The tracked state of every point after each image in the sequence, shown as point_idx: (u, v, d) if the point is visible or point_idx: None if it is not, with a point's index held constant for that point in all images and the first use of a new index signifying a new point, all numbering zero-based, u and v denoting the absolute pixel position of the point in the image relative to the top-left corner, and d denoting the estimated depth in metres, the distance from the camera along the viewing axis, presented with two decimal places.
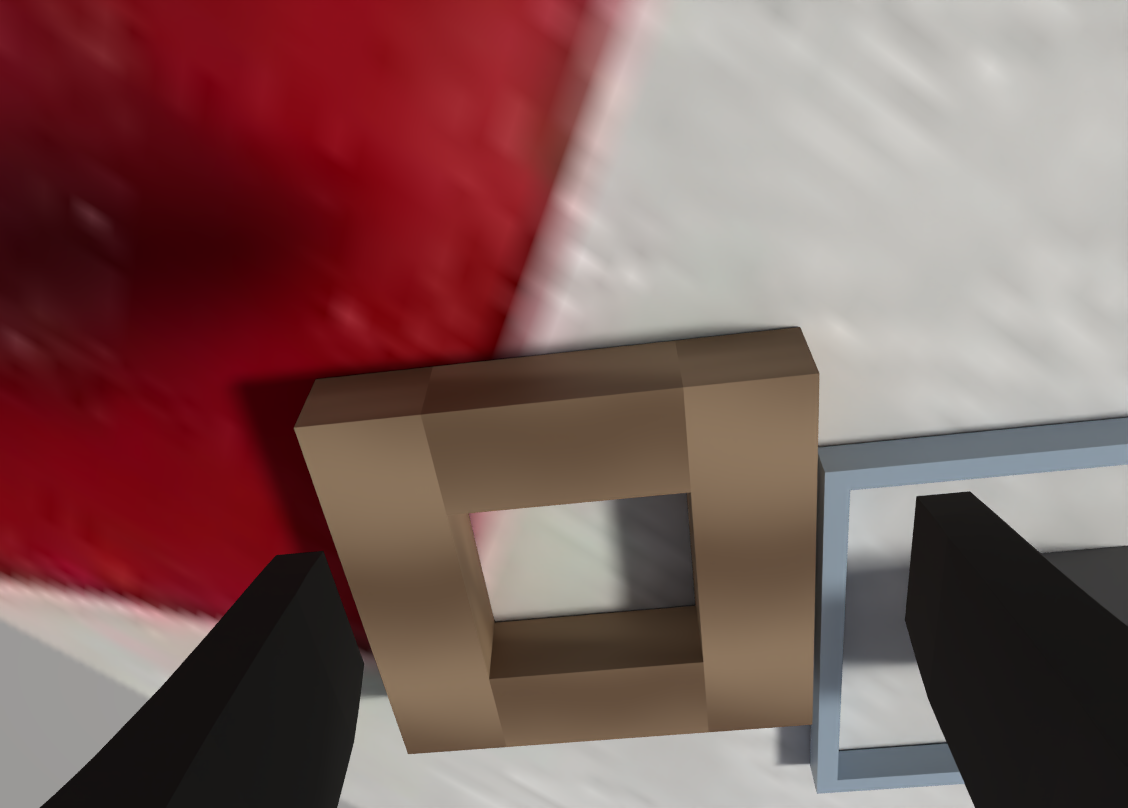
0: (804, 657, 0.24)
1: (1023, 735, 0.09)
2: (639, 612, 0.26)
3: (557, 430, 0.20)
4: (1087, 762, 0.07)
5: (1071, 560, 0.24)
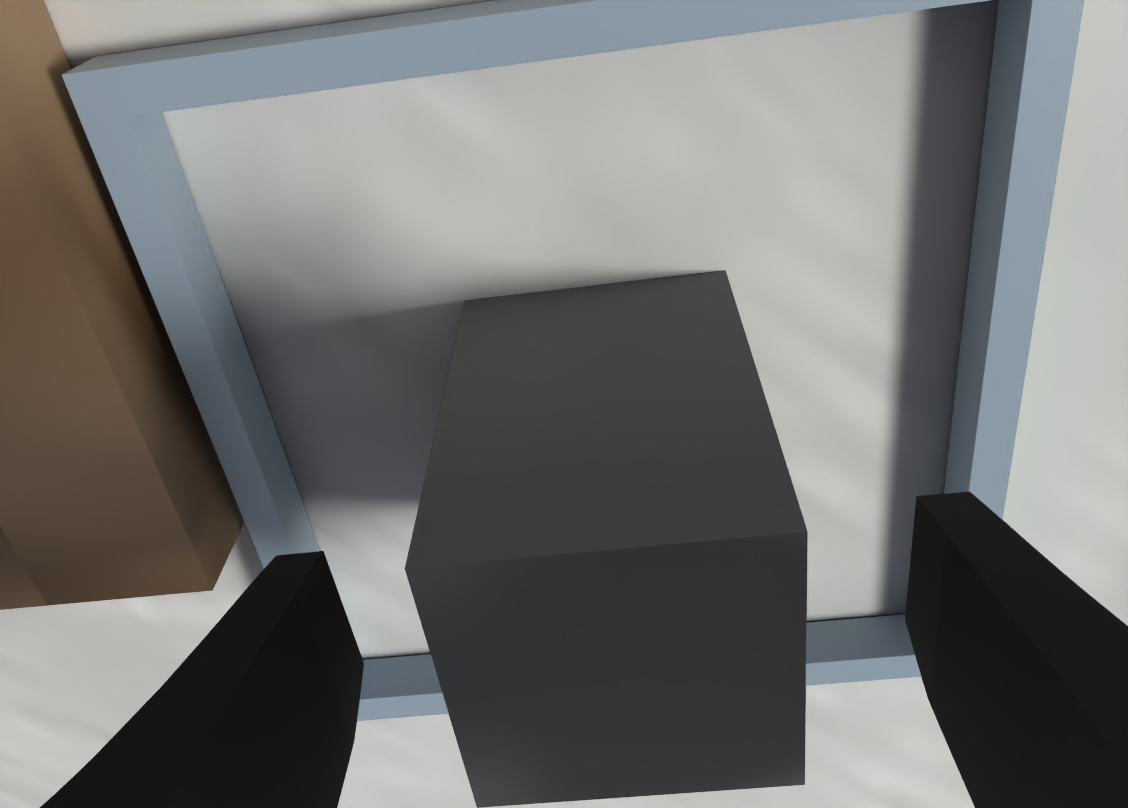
0: (136, 457, 0.14)
1: (1023, 735, 0.09)
2: None
3: None
4: (1087, 762, 0.07)
5: (615, 293, 0.14)
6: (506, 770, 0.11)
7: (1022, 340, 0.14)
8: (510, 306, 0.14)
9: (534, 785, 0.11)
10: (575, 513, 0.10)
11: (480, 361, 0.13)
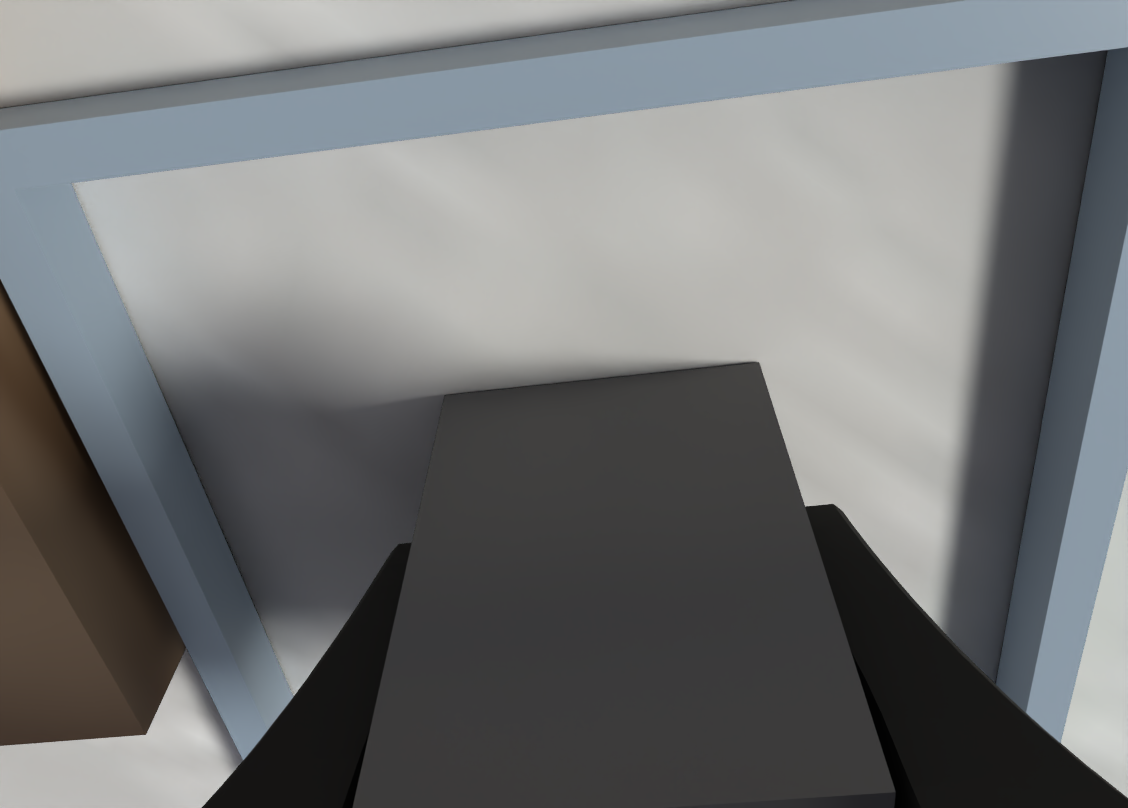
0: (45, 592, 0.11)
1: None
2: None
3: None
4: None
5: (626, 391, 0.11)
6: None
7: (1121, 452, 0.11)
8: (498, 406, 0.12)
9: None
10: (576, 741, 0.07)
11: (461, 486, 0.10)
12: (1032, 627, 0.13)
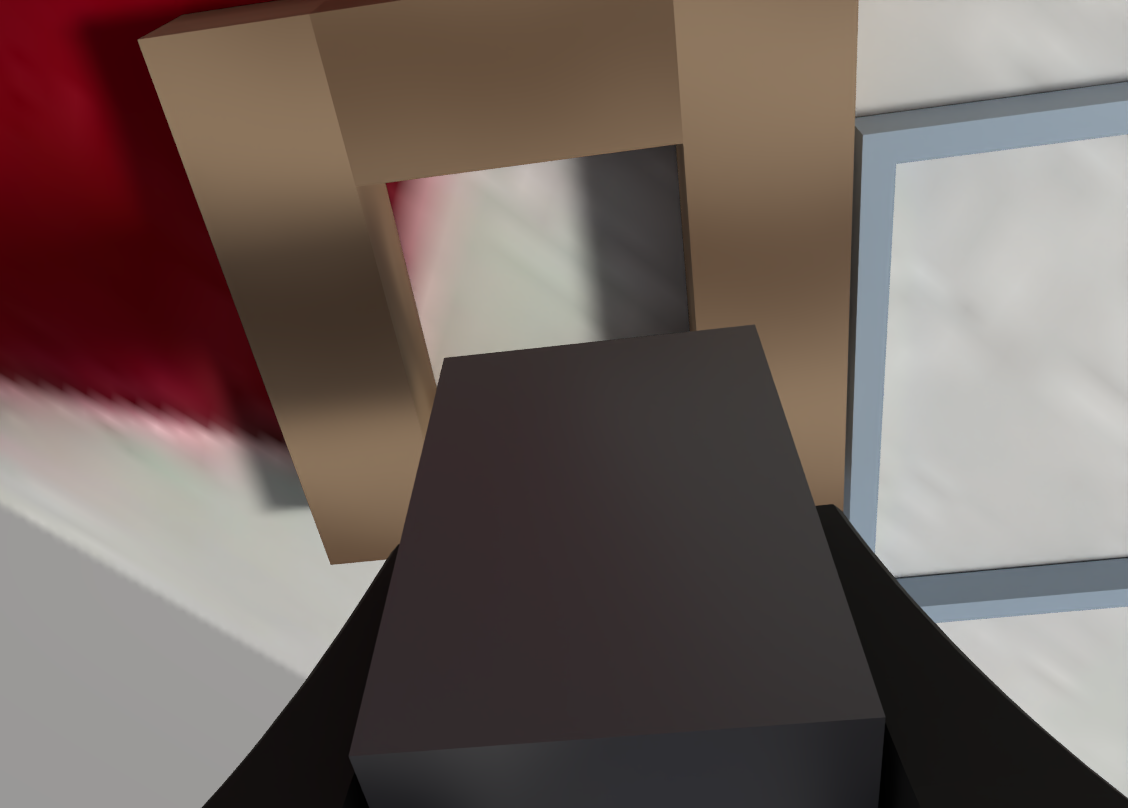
0: (834, 411, 0.18)
1: None
2: None
3: (498, 39, 0.15)
4: (890, 776, 0.08)
5: (623, 352, 0.12)
6: None
7: None
8: (497, 367, 0.12)
9: None
10: (572, 674, 0.07)
11: (459, 442, 0.10)
12: None
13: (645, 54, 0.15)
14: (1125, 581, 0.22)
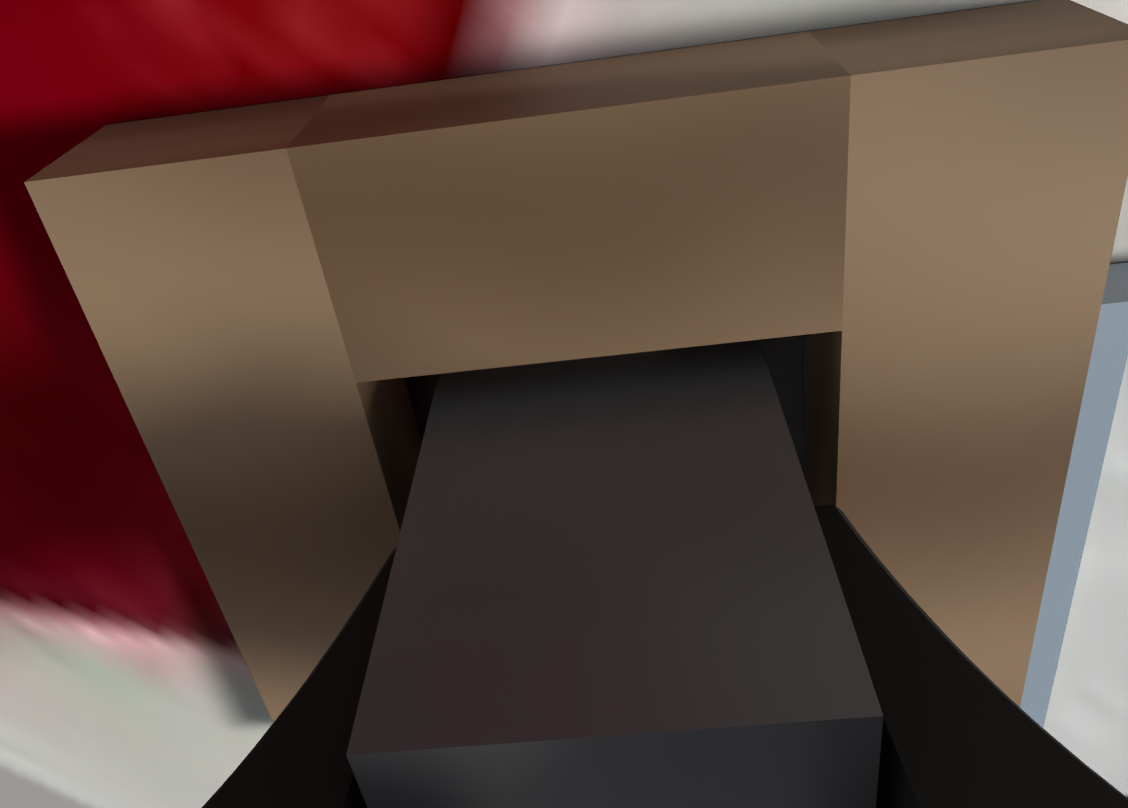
0: (1012, 661, 0.13)
1: None
2: None
3: (575, 185, 0.10)
4: (890, 775, 0.08)
5: None
6: None
7: None
8: None
9: None
10: (571, 674, 0.07)
11: (458, 441, 0.10)
12: None
13: (798, 209, 0.10)
14: None
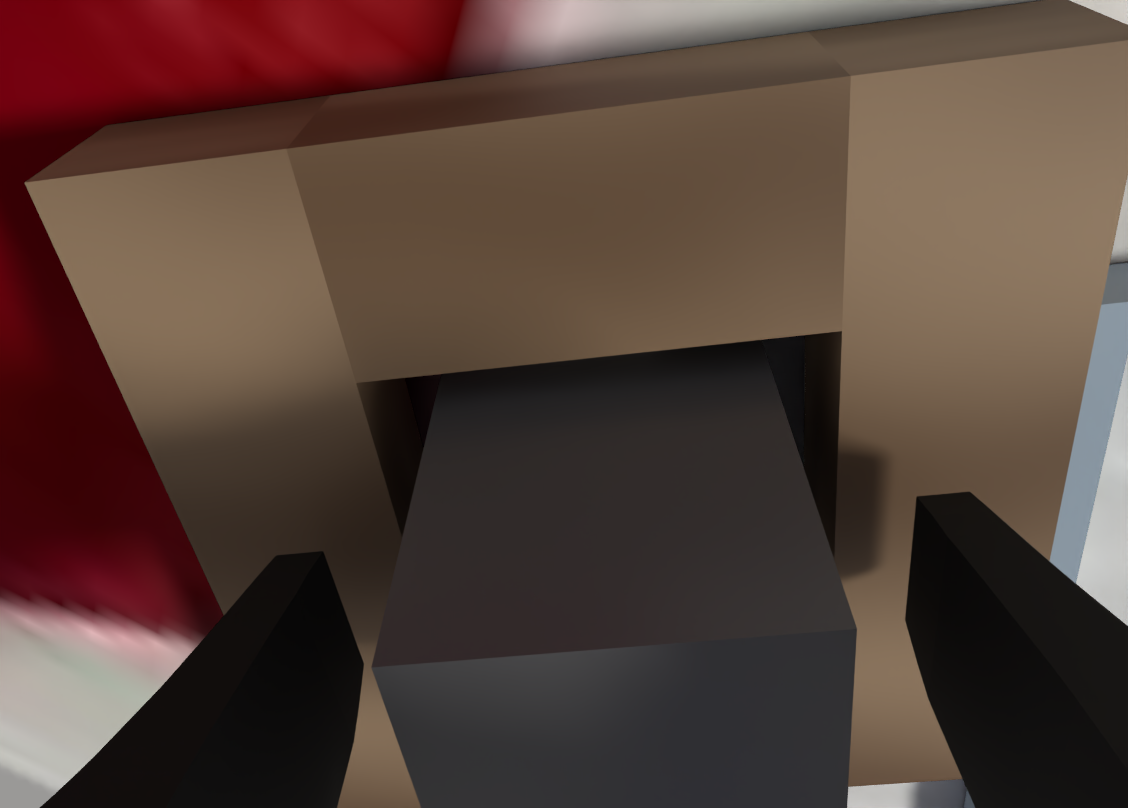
0: None
1: (1023, 735, 0.09)
2: None
3: (575, 186, 0.10)
4: (1086, 763, 0.07)
5: None
6: None
7: None
8: None
9: None
10: (575, 597, 0.08)
11: (469, 399, 0.11)
12: None
13: (798, 210, 0.10)
14: None
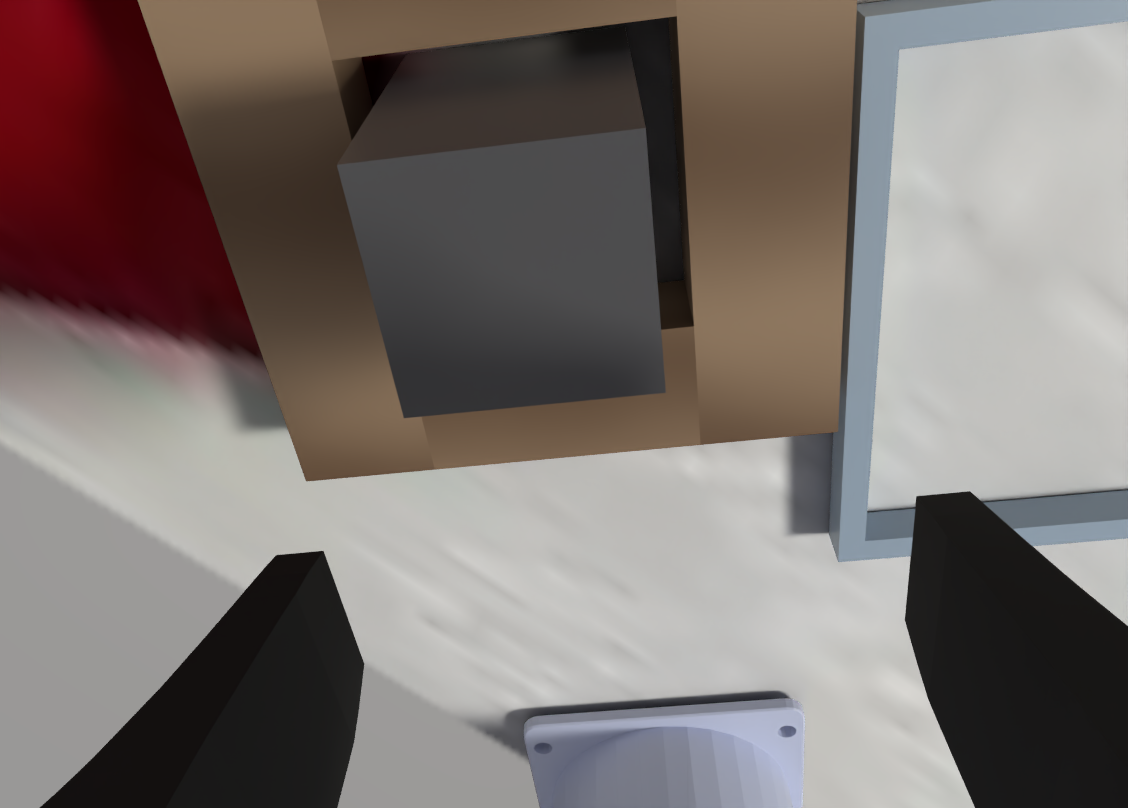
0: (830, 318, 0.18)
1: (1023, 734, 0.09)
2: None
3: None
4: (1087, 762, 0.07)
5: (531, 41, 0.17)
6: (425, 377, 0.14)
7: None
8: (443, 53, 0.17)
9: (448, 393, 0.14)
10: (471, 134, 0.12)
11: (413, 78, 0.15)
12: None
13: None
14: (1125, 512, 0.22)
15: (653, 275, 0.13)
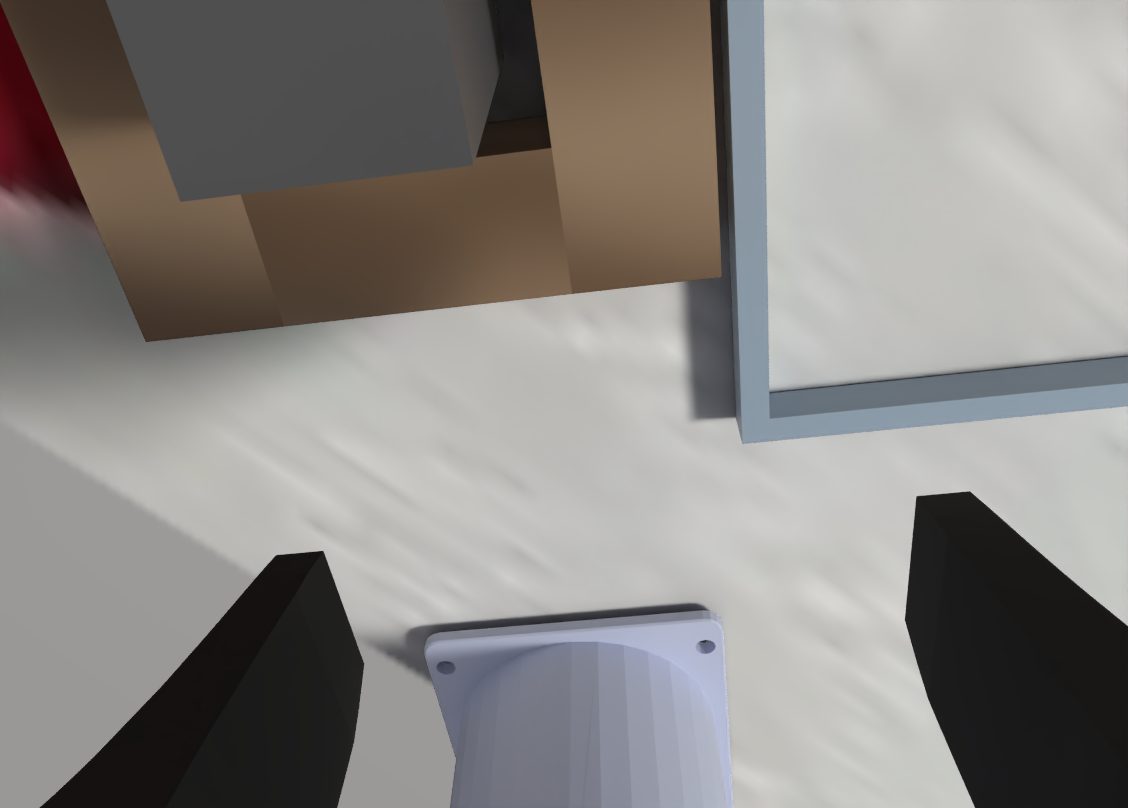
0: (701, 136, 0.16)
1: (1023, 733, 0.09)
2: None
3: None
4: (1087, 762, 0.07)
5: None
6: (197, 147, 0.12)
7: None
8: None
9: (227, 169, 0.12)
10: None
11: None
12: None
13: None
14: (1052, 384, 0.20)
15: (439, 8, 0.11)
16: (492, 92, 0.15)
